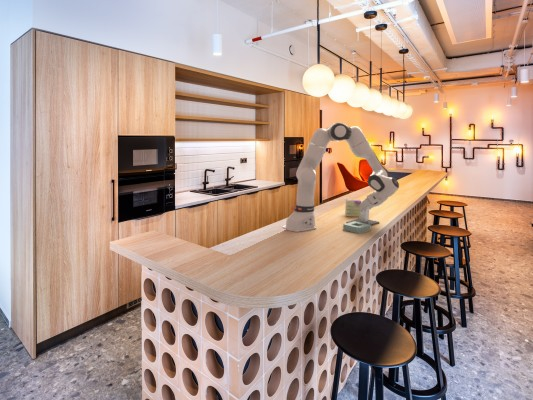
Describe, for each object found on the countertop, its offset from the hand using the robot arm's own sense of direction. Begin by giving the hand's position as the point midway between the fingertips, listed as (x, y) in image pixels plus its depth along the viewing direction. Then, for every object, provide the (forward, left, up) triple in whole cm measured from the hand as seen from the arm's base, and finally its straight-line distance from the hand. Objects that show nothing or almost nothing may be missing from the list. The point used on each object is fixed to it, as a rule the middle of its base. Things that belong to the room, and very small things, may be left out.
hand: (364, 210), depth 221 cm
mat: (0, 0, -9) cm, 9 cm away
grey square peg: (0, -1, -8) cm, 8 cm away
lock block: (-17, -7, -9) cm, 20 cm away
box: (+14, +18, -10) cm, 25 cm away
